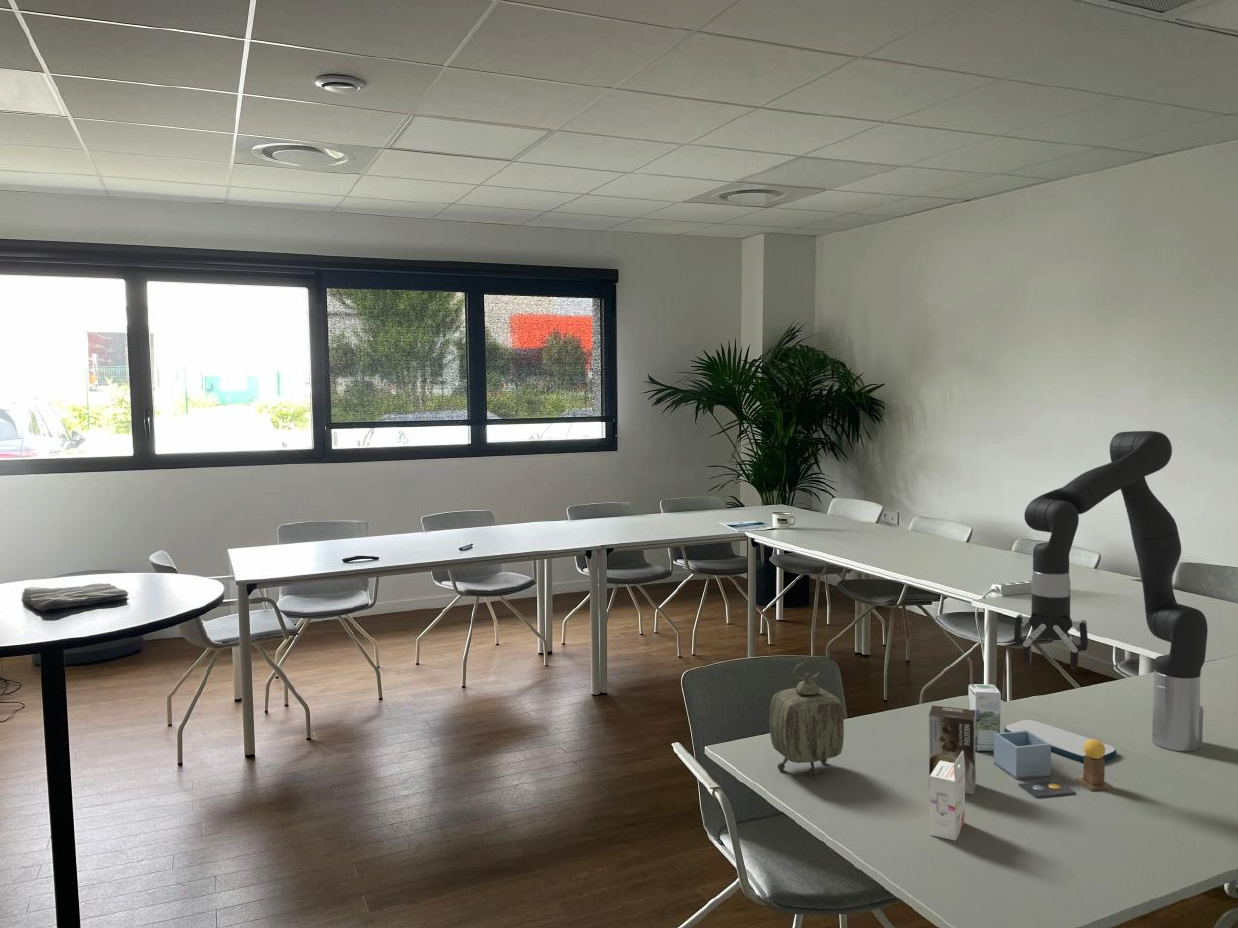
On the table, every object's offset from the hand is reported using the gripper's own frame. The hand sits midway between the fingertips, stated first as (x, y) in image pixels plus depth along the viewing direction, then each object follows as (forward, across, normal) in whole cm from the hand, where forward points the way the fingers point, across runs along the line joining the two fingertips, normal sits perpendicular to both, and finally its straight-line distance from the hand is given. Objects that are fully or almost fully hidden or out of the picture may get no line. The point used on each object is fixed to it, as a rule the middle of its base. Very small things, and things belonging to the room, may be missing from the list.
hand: (1050, 665), depth 192 cm
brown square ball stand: (+24, -9, +2) cm, 26 cm away
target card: (+24, 0, +9) cm, 26 cm away
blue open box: (+24, +6, +1) cm, 25 cm away
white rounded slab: (+25, 0, -18) cm, 31 cm away
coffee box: (+24, +17, +17) cm, 34 cm away
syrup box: (+24, +15, -8) cm, 30 cm away
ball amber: (+16, -9, +2) cm, 19 cm away
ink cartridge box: (+24, +14, +37) cm, 46 cm away
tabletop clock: (+24, +46, +25) cm, 57 cm away
